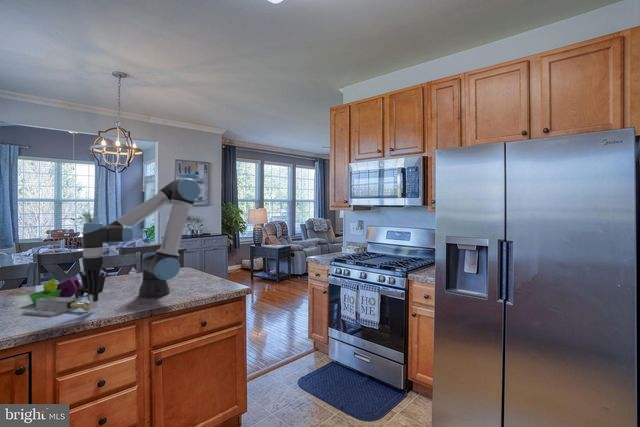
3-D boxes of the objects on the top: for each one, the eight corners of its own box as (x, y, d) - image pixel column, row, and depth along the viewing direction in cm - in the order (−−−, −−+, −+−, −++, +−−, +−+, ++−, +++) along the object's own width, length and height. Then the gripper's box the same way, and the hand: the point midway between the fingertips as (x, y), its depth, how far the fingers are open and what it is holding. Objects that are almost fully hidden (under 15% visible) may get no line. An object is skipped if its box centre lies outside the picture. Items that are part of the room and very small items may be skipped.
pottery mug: (77, 295, 178) (86, 281, 180) (94, 302, 179) (103, 288, 182) (66, 295, 167) (76, 280, 169) (84, 303, 168) (94, 288, 170)
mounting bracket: (40, 310, 170) (78, 292, 175) (31, 296, 168) (69, 278, 174) (48, 305, 178) (83, 288, 184) (40, 291, 177) (76, 275, 182)
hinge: (87, 304, 160) (87, 295, 160) (52, 316, 142) (52, 305, 142) (60, 302, 163) (60, 293, 162) (22, 314, 145) (22, 303, 145)
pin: (91, 309, 151) (91, 300, 151) (84, 311, 148) (84, 303, 147) (59, 306, 154) (59, 298, 154) (51, 309, 151) (51, 300, 151)
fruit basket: (48, 298, 170) (48, 276, 170) (65, 298, 170) (64, 277, 170) (28, 305, 159) (27, 281, 158) (45, 305, 158) (45, 282, 158)
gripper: (112, 255, 151) (112, 306, 151) (87, 255, 153) (88, 305, 154) (98, 258, 144) (98, 311, 144) (73, 257, 146) (73, 310, 146)
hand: (93, 308), depth 149 cm, fingers closed
